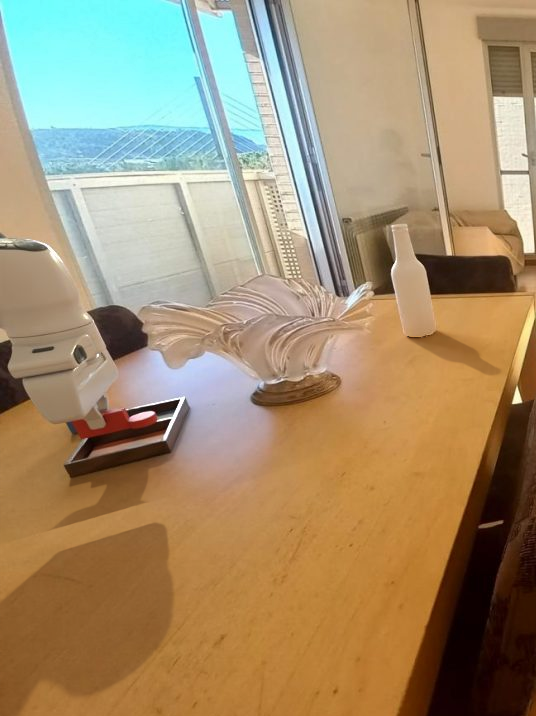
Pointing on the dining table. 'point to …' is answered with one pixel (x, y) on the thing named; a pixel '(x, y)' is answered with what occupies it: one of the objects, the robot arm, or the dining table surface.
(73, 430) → the blue toy piece
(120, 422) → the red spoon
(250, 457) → the dining table surface
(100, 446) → the tray
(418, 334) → the alcohol
